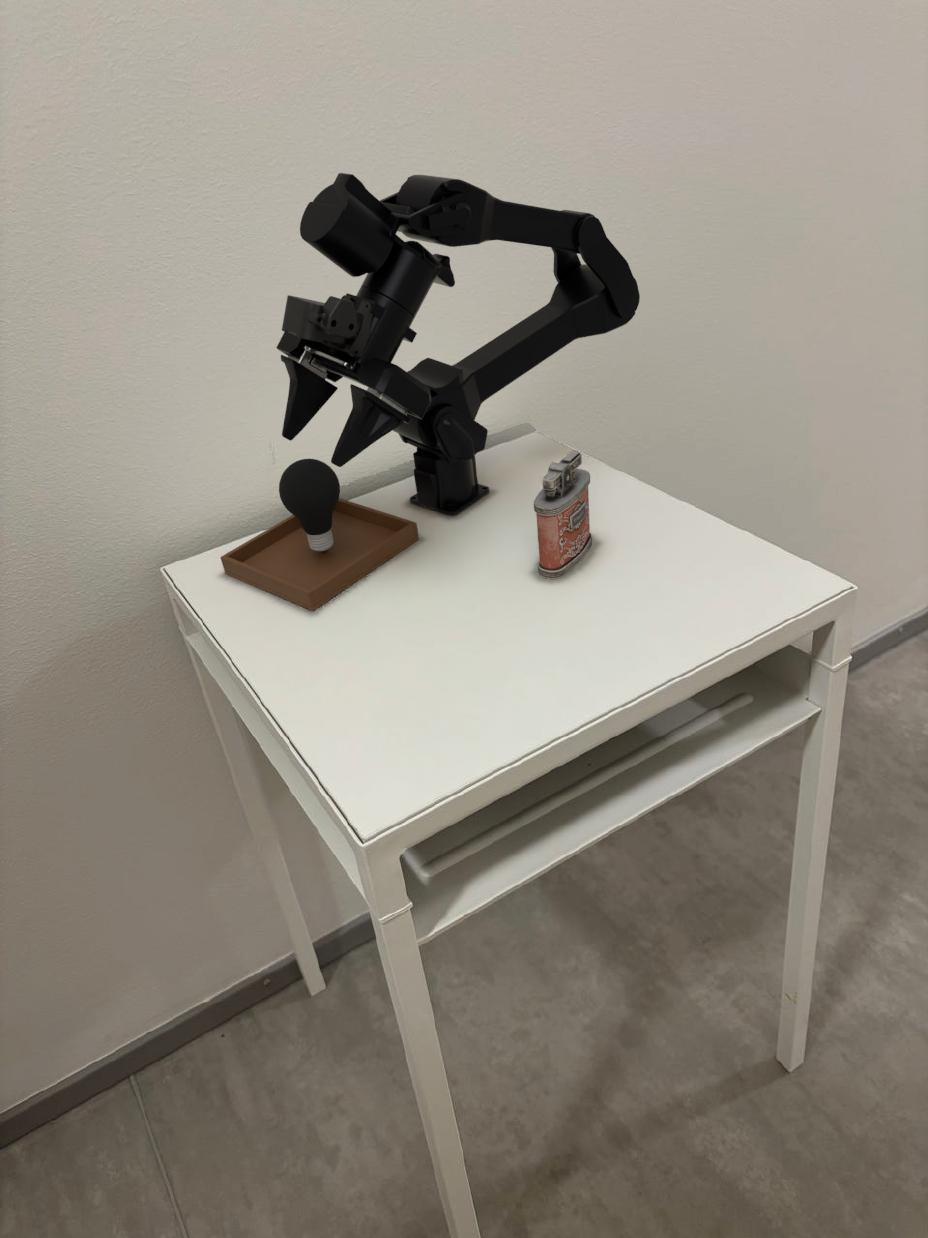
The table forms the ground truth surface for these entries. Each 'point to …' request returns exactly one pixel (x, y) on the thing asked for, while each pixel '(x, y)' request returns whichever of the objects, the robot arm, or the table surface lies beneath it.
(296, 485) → the light bulb
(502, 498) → the table surface
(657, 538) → the table surface
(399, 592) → the table surface
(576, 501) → the lighter
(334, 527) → the tray
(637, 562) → the table surface
